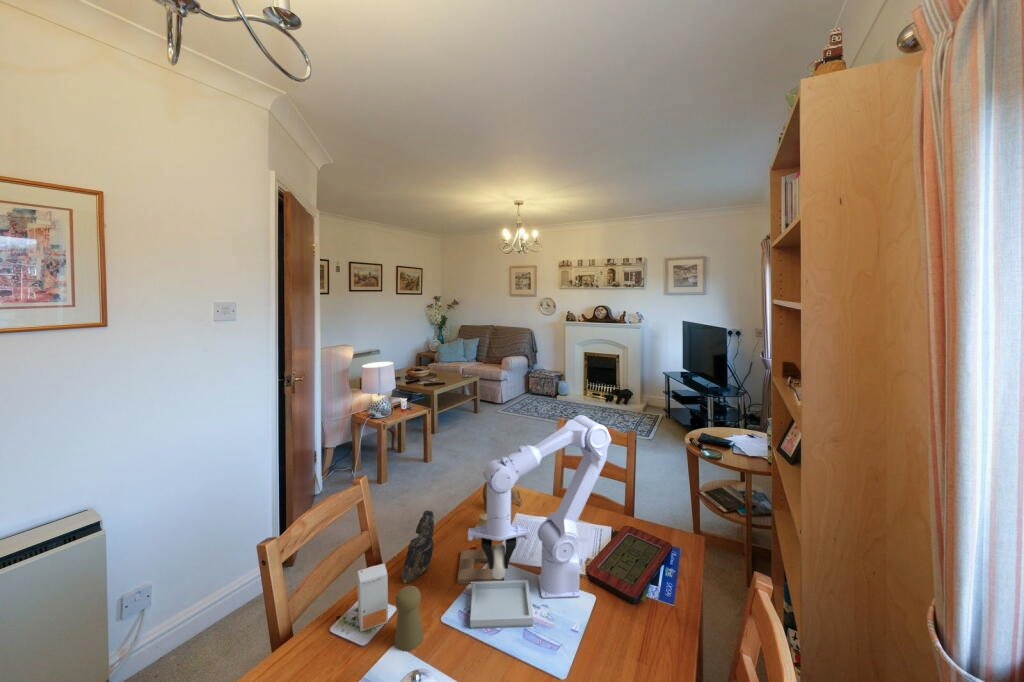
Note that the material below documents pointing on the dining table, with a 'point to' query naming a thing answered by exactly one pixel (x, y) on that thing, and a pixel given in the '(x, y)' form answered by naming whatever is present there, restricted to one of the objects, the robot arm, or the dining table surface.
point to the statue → (420, 549)
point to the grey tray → (501, 604)
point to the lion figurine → (515, 495)
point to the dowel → (498, 561)
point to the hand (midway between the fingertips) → (498, 566)
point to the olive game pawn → (408, 619)
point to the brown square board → (467, 567)
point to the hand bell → (483, 515)
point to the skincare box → (372, 597)
